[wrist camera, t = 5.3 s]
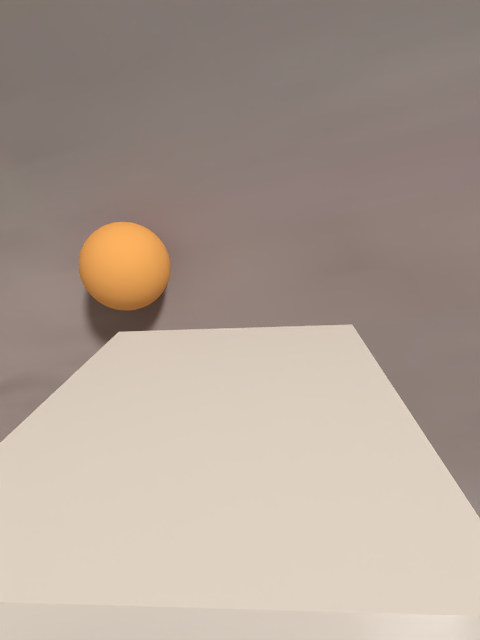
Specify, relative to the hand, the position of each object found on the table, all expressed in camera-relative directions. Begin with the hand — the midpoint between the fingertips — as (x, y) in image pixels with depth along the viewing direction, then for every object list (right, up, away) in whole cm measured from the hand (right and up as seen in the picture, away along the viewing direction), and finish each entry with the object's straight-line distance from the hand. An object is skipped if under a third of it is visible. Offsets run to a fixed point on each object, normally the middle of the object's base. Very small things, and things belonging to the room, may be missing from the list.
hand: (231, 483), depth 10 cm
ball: (-6, +7, +12) cm, 15 cm away
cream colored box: (0, +1, +2) cm, 2 cm away
